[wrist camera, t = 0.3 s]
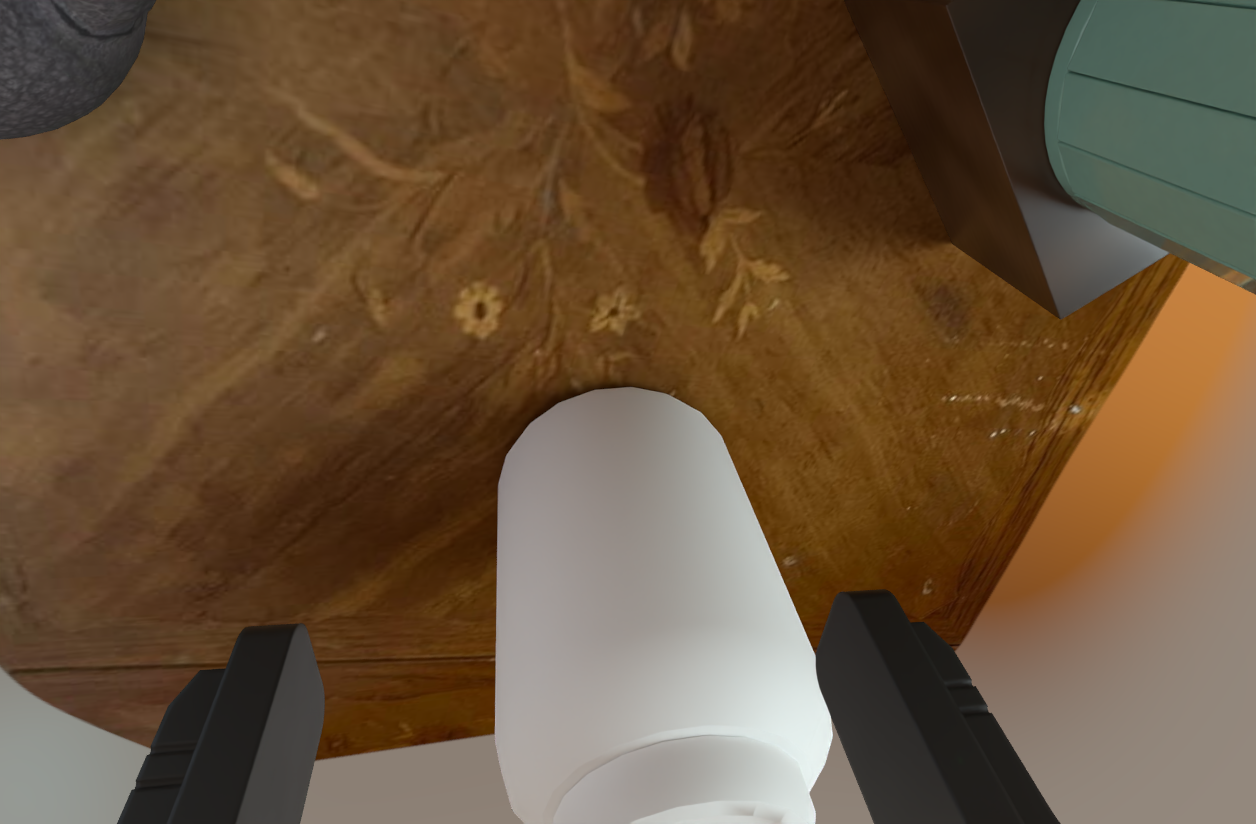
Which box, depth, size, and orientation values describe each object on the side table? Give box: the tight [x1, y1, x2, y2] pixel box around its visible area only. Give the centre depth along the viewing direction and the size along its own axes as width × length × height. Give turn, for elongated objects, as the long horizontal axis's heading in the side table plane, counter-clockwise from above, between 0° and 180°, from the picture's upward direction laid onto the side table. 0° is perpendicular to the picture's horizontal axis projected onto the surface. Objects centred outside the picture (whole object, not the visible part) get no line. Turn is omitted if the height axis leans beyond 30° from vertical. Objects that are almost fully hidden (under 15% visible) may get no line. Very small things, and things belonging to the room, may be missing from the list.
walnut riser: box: [844, 0, 1169, 319], centre depth 25 cm, size 13×13×8 cm
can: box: [495, 387, 833, 824], centre depth 30 cm, size 12×12×20 cm
